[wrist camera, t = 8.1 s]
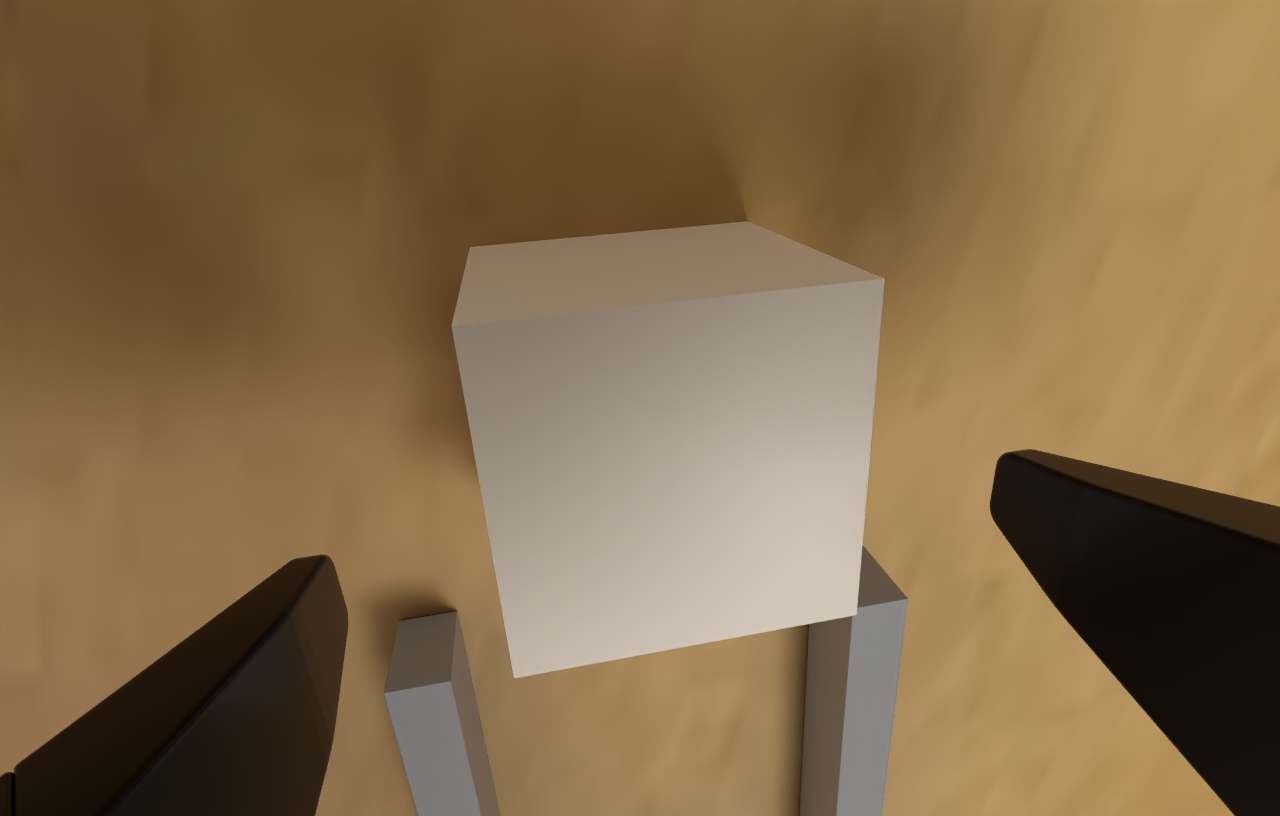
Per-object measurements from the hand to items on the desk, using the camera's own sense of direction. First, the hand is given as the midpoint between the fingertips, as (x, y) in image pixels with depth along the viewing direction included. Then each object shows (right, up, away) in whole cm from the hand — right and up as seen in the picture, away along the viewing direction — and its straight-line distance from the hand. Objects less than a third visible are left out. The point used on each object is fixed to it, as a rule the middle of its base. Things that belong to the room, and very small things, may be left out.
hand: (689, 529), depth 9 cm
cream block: (-1, +2, +4) cm, 5 cm away
